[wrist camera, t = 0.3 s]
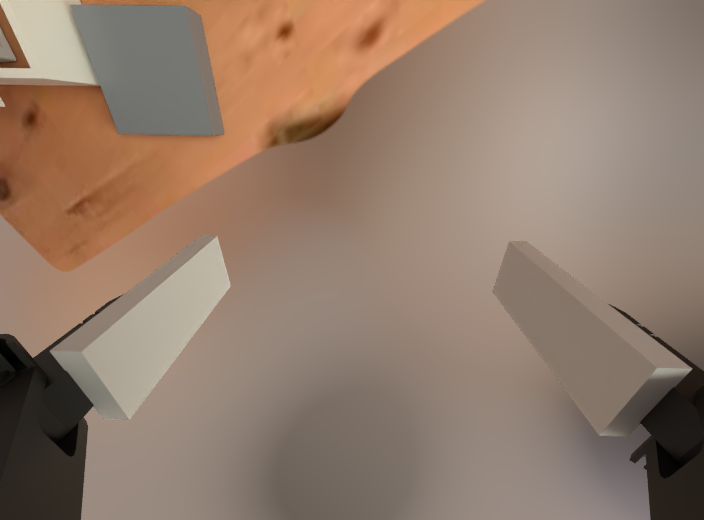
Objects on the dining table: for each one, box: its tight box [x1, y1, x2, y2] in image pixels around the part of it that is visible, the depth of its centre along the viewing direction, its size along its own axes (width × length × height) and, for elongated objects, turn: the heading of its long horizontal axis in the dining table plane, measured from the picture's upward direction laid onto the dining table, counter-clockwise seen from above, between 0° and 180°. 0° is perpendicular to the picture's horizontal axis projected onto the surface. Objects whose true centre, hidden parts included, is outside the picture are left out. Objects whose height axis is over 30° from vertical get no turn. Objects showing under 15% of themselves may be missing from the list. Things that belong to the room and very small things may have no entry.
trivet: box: [70, 5, 224, 136], centre depth 31 cm, size 12×12×3 cm
